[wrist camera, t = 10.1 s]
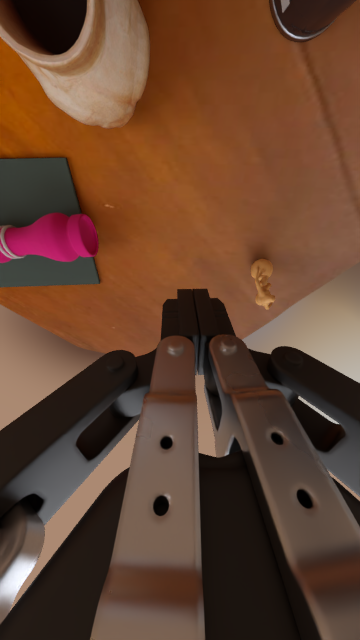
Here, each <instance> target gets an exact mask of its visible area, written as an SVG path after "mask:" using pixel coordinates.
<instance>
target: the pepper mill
mask: <svg viewBox="0 0 360 640" xmlns="http://www.w3.org/2000/svg"><path fill="white" fill-rule="evenodd" d="M97 252H98V236H97V232H96V229H95V226H94V224H93V222H92V220H91V219H90V218H89V217H88V216H87V215H86V214H75V215H71V216H70V217H68V216H67V215H65V214H62V213H50V214H47V215H45V216H43V217H41V218H39V219H38V220H37V221H36V222H34V223H33V224H32V225H29V226H26V227H21V228H16V227H14V226H12V225H6V226H0V263H5V262H8V261H10V260H12V259H17V258H23V257H25V256H26V255H40V256H44V257H47V258H50V259H53V260H56V261H62V262H71V261H74V260H76V259H77V258H78V257H79V255H80V256H81V257H94V256H95V255H96V254H97Z"/></svg>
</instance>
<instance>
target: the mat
mask: <svg viewBox="0 0 360 640" xmlns="http://www.w3.org/2000/svg"><path fill="white" fill-rule="evenodd" d="M50 213H62V214H65V215H67V216H68V217H70V216H71V215H75V214H82V213H81V209H80V206H79V202H78V198H77V194H76V191H75V187H74V183H73V180H72V176H71V172H70V169H69V165H68V161H67V158H19V159H0V226H6V225H12V226H14V227H16V228H21V227H26V226H29V225H32V224H33V223H34V222H36V221H37V220H38V219H39V218H41V217H43V216H45V215H47V214H50ZM77 284H100V280H99V276H98V272H97V269H96V265H95V261H94V257H81V256H80V255H79V257H78V258H77V259H76V260H74V261H71V262H62V261H56V260H53V259H50V258H47V257H44V256H40V255H26V256H25V257H23V258H17V259H12V260H10V261H8V262H5V263H0V287H19V286H48V285H77Z"/></svg>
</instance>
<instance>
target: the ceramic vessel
mask: <svg viewBox="0 0 360 640" xmlns="http://www.w3.org/2000/svg"><path fill="white" fill-rule="evenodd" d="M0 37H1V38H2V39H3V41H5V42H6V43H7V44H8V45H9V46H10V47H11V48H12V49H13V50H15V51H16V52H17V53H18V55H19V56H20V57H21V59H22V60H23V61H24V63H25V64H26V65H27V67H28V68H29V69H30V70H31V72H32V73H33V74H34V75H35V77H36V78H37V79H38V81H39V82H40V84H41V86H42V87H43V89H44V91H45V93H46V95H47V96H48V98H49V99H50V100H51V101H52V102H53V103H54V104H55V105H56V106H57V107H58V108H60V109H61V110H63V111H64V112H65V113H67V114H68V115H69V116H71V117H72V118H74V119H76V120H78V121H80V122H81V123H83V124H85V125H99V126H101V127H103V128H107V129H112V128H114V127H122V126H124V125H125V124H127V122H128V121H129V119H130V118H131V117H132V116H133V114H134V111H135V107H136V103H137V101H138V100H139V99H140V98H141V97H142V94H143V92H144V90H145V87H146V82H147V78H148V72H149V62H150V38H149V30H148V26H147V23H146V20H145V17H144V15H143V12H142V10H141V7H140V5H139V2H138V0H0Z"/></svg>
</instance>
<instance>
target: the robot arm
mask: <svg viewBox="0 0 360 640" xmlns="http://www.w3.org/2000/svg"><path fill="white" fill-rule="evenodd" d="M355 1H356V0H269V3H270V9H271V14H272V17H273V20H274V22H275V25H276V27H277V28H278V30H279V31H280V33H281V34H282V35H283V36H284V37H285V38H287V39H288V40H291V41H294V42H305V41H309V40H311V39H313V38H315V37H317V36H318V35H320V34H321V33H322V32H323V31H324V30H326V29H327V28H328V27H329V26H330V25H331V24H332V23H333V22H334V21H335V20H336V18H337V17H338V16H340V15H341V14H342V13H343V12H344V11H345V10H346V9H347V8H349V7H350V6H351V5H352V4H353V3H354V2H355ZM197 371H198V375H204V379H205V385H204V392H205V396H206V401H207V405H208V409H209V414H210V418H211V422H212V427H213V431H214V436H215V450H216V457H212V456H209V455H205V454H201V453H198V425H197V424H198V423H197V422H198V421H197V396H196V393H195V375H196V373H197ZM298 396H301V397H302V398H303V399H305V400H306V401H308V402H309V403H310V404H312V405H313V406H315V407H316V408H318V409H319V410H321V411H322V412H324V413H325V414H326V415H328V416H329V417H331V418H332V419H334V420H335V421H337V422H338V423H339V424H335V423H333V422H331V421H329V420H328V419H326V418H325V417H323V416H322V415H320V414H319V413H318V412H316V411H315V410H313V409H312V408H310V407H309V406H308V405H306V404H305V403H303V402H302V401H301V400H299V399H298ZM138 420H139V423H138V429H137V434H136V438H135V444H134V449H133V454H132V459H131V464H130V467H129V468H127V469H126V470H124V471H123V472H121V473H120V474H119V475H118V476H117V477H115V478H114V479H113V480H112V481H111V482H110V483H109V484H108V486H107V487H105V489H104V490H103V491H102V493H101V494H100V495H99V496H98V497H97V499H96V500H95V501H94V503H93V504H92V505H91V507H90V508H89V509H88V511H87V512H86V513H85V514H84V516H83V517H82V518H81V520H80V521H79V522H78V524H77V525H76V526H75V527H74V529H73V530H72V531H71V533H70V534H69V535H68V537H67V538H66V539H65V541H64V542H63V543H62V544H61V546H60V547H59V548H58V550H57V551H56V552H55V554H54V555H53V556H52V557H51V559H50V560H49V561H48V563H47V564H46V565H45V567H44V568H43V569H42V570H41V572H40V573H39V574H38V576H37V577H36V578H35V580H34V581H33V582H32V584H31V585H30V586H29V587H28V589H27V590H26V591H25V593H24V594H23V595H22V597H21V598H20V599H19V600H18V602H17V603H16V604H15V606H14V607H13V608H12V610H11V611H10V608H11V606H12V603H13V601H14V599H15V597H16V594H17V592H18V591H19V589H20V587H21V585H22V584H23V582H24V581H25V579H26V578H27V577H28V575H29V574H30V572H31V571H32V569H33V568H34V566H35V564H36V562H37V560H38V558H39V555H40V553H41V550H42V547H43V543H44V536H45V531H44V530H45V528H44V525H45V524H46V523H47V522H48V521H49V520H50V519H51V517H52V516H53V515H54V514H55V513H56V512H57V511H58V510H59V508H60V507H61V506H62V505H63V504H64V503H65V502H66V501H67V499H68V498H69V497H70V496H71V495H72V494H73V493H74V492H75V491H76V489H77V488H78V487H79V486H80V485H81V484H82V483H83V482H84V480H85V479H86V478H87V477H88V476H89V475H90V474H91V472H92V471H93V470H94V469H95V468H96V467H97V466H98V464H100V463H101V461H102V460H103V459H104V458H105V457H106V456H107V455H108V454H109V452H110V451H111V450H112V449H113V448H114V447H115V446H116V444H117V443H118V442H119V441H120V440H121V439H122V438H123V437H124V436H125V435H126V433H127V432H128V431H129V430H130V429H131V428H132V427H133V426H134V424H135V423H136V422H137V421H138ZM327 470H328V471H330V472H331V473H332V474H333V475H334V476H336V477H337V478H338V479H339V480H340V481H342V482H343V483H344V484H345V485H346V486H348V487H349V488H350V489H351V490H352V491H354V492H355V493H356V494H357V495H358V496H360V383H358V382H356V381H354V380H353V379H351V378H349V377H347V376H345V375H343V374H342V373H340V372H338V371H336V370H334V369H333V368H331V367H329V366H327V365H325V364H324V363H322V362H320V361H318V360H317V359H315V358H313V357H311V356H309V355H308V354H306V353H304V352H302V351H300V350H298V349H296V348H292V347H287V346H281V347H277V348H275V349H274V350H273V351H272V353H271V354H266V353H262V352H257V351H253V350H251V349H248V348H247V346H246V345H245V343H244V342H243V341H242V340H241V339H239V338H238V337H236V335H235V333H234V330H233V327H232V325H231V322H230V319H229V317H228V314H227V311H226V309H225V306H224V304H223V303H222V302H221V301H220V300H219V299H218V298H210V297H209V293H208V290H207V289H177V299H167V300H166V302H165V303H164V304H163V311H162V328H161V341H160V342H159V344H158V346H157V348H156V349H155V350H153V351H152V352H150V353H148V354H145V355H141V356H138V357H135V356H134V355H133V354H132V353H131V352H129V351H125V350H116V351H112V352H109V353H107V354H105V355H104V356H102V357H101V358H99V359H98V360H97V361H95V362H94V363H93V364H91V365H90V366H88V367H87V368H86V369H84V370H83V371H81V372H80V373H79V374H77V375H76V376H75V377H73V378H72V379H71V380H69V381H68V382H66V383H65V384H64V385H62V386H61V387H60V388H58V389H57V390H55V391H54V392H53V393H51V394H50V395H49V396H47V397H46V398H45V399H43V400H42V401H40V402H39V403H38V404H36V405H35V406H33V407H32V408H31V409H29V410H28V411H27V412H25V413H24V414H23V415H21V416H20V417H18V418H17V419H16V420H15V421H13V422H11V423H10V424H9V425H7V426H6V427H5V428H3V429H2V430H1V431H0V640H360V501H359V500H358V499H356V498H355V497H354V496H353V495H352V494H351V493H350V492H349V491H348V490H346V489H345V488H344V487H343V486H342V485H341V484H340V483H338V482H337V481H336V480H335V479H334V478H332V477H331V476H330V474H329V472H328V471H327ZM9 611H10V612H9Z"/></svg>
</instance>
